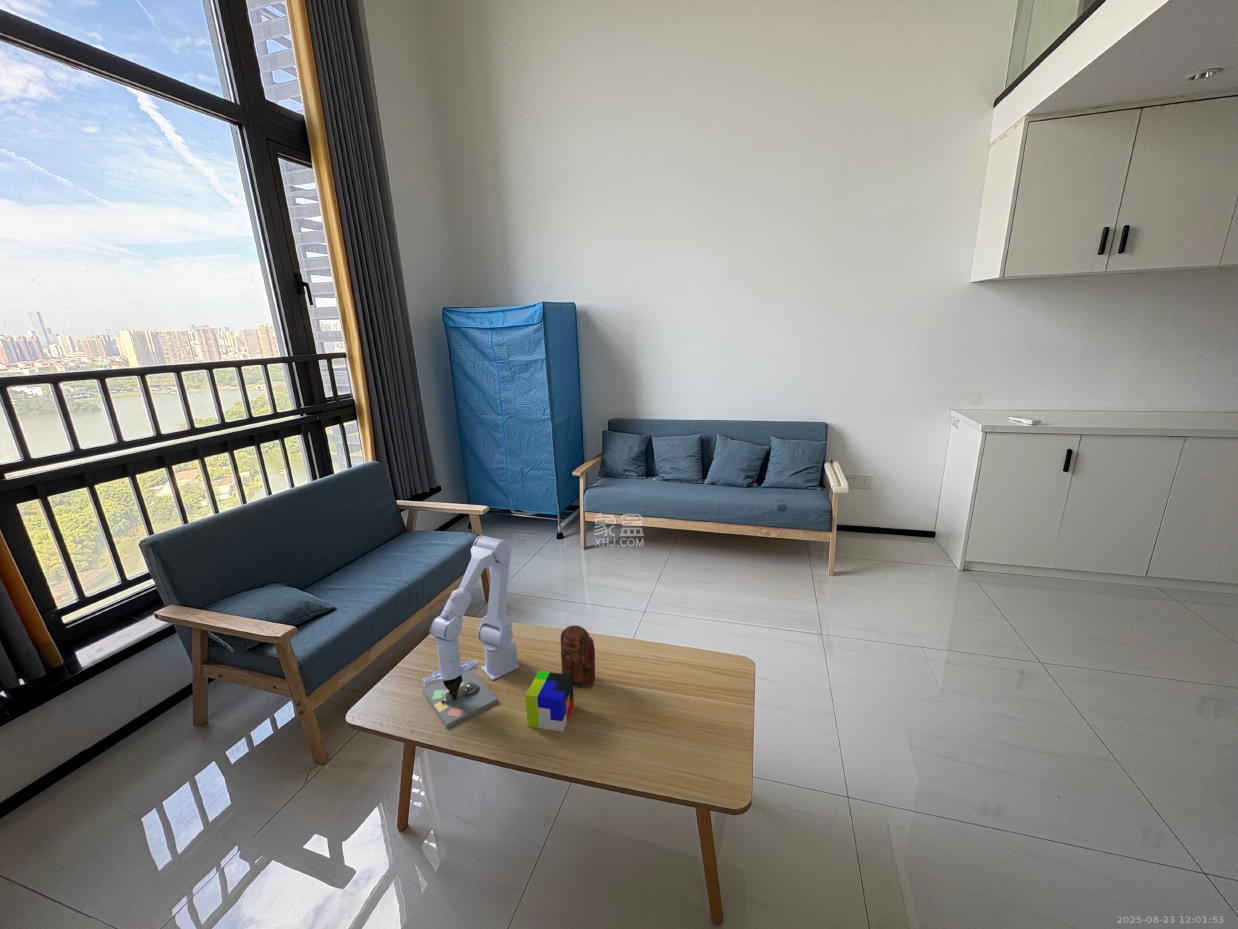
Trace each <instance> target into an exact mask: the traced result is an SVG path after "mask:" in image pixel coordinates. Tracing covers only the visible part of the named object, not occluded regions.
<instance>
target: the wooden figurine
mask: <svg viewBox="0 0 1238 929" xmlns="http://www.w3.org/2000/svg"><path fill="white" fill-rule="evenodd" d="M594 644H595V642H594V639H593V638H592V637H591V636H590V633H589V632H588V630H586V629H585V628H584V627H582V626H580V625H570V626H566V627H565V628H564V629H563V630H562V632H561V634H560V652H561V653H560V658H561V662H560V663H561V674H568V675H573V687H576V688H582V687H585V688H588V689H590V688H592V687H593V685H594V683H595V681H596V651H595V650H596V649H595V645H594Z"/></svg>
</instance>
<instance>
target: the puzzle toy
mask: <svg viewBox="0 0 1238 929" xmlns="http://www.w3.org/2000/svg"><path fill="white" fill-rule="evenodd" d="M574 702H575V700H574V685H573V675H568V674H562V673H558V672H551V671H542V670H538V672H537V674H536V675H535V677H534V679H533V681H532V682H531V685H530V686H529V688H528V690H527V692H526V693H525V705H526V706H525V707H526V720H527V727H528V728H529V727H530V728H535V729H536V728H537V729H542V730H550V731H555V732H556V731H557V732H562V733H563V732H564V731H565V728H566V725H567V723H568V721H569V718H570V716H571V713H572V710H573V708H574V707H575V703H574Z"/></svg>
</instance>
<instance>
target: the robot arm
mask: <svg viewBox="0 0 1238 929" xmlns="http://www.w3.org/2000/svg"><path fill="white" fill-rule="evenodd" d="M511 552H512V545H511V544H510V542H509V541H508V540H506V539H499V538H495V537H490V536H486V535H484V534H482V535H479V536H477V537H476V538H475V540H474V542H473V544H472V547H471V548H470V554H471V558H470V560H469V563H468V566H467V568H466V570H465V573H464V575H463V578H462V580H461V582H460V585H459V587H458V588H457V589H455V590H453V591H452V592H451V593H450V596H449V598H448V599H447V602H446V603H445V605H444V608H443V609H442V611H441V613H440V615H438V616H437V617H435V618H434V619H433V621H432V623H431V625H430V629H429V633H430V635H431V636H432V637H433V638H434V641H435V642H436V651H437V652H436V653H437V659H438V668H439V669H438V670H436V671H435V672H433V673H431V674H429V675H427V676H425V677H423V678H422V680H423V687H424V689H426V688H428V687H430V686H432V685H435V684H437V683H439V682H442V681H443V683H444V685H445V687H446V688H447V689H448V690H449V692H450V693H451V697H452V700H453V701H455V700H457V694H458V690H459V687H460V685H461V683H462V676H461V675H462V674H463V673H465V672H467V671H470V670H473V671H476V670H478V669H479V666H478V665H479V664H478V662H477V660H476V659H473V660H469V661H461V652H460V643H459V635H461V633H462V629H463V622H464V618H463V617H464V616H465V614H466V612H467V609H468V607H469V605H470V604H471V601H472V595H471V592H472V591H473V589H474V587H475V586H476V584H477V583H478V580H479V579H480V577H481V576H482V574H483V572H484V570H485V569H487V568H490V567H491V570H490V580H489V589H488V590H489V592H488V593H489V594H488V604H487V614H486V615H485V616H483V617H482V618H481V619H480V625H479V628H478V629H477V639H478V641H480V642H481V643H482V646H483V648H484V660H485V664H484V665H481V670H482V671H483V672H484V673H485V674H486V675H487V677H488V678H489V679H490V680H491V681H494V680H496V679H498V678H500V677H502V676H504V675H506V674H509V673H511V672H513V671H515V670H516V669H519V668H520V665H519V663H518V662H519V659H518V648H517V643H516V642H515V640H514V639H513V637H514V633H513V627H512V626H513V625H512V624H513V623H512V621H511V619H509V618H508V616H507V615H506V608H507V598H508V586H509V576H510V575H509V574H510V566H511V565H510V564H511V555H512V553H511Z"/></svg>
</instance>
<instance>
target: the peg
mask: <svg viewBox="0 0 1238 929" xmlns="http://www.w3.org/2000/svg"><path fill="white" fill-rule="evenodd" d="M476 691H477V685H476V684H473V683H467V684H466V685H465V684H464V683H463V682H462V683H461V685H460V687H459V690H458V694H457V698H458V697H461V696H463V695H471V694H474V693H475V692H476ZM443 694H444V700H442V701H441V703H444V702H446V703H448V702H450V701H452V697H451V693H450V692H449V690H448V689H447V690H445V691H443Z"/></svg>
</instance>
